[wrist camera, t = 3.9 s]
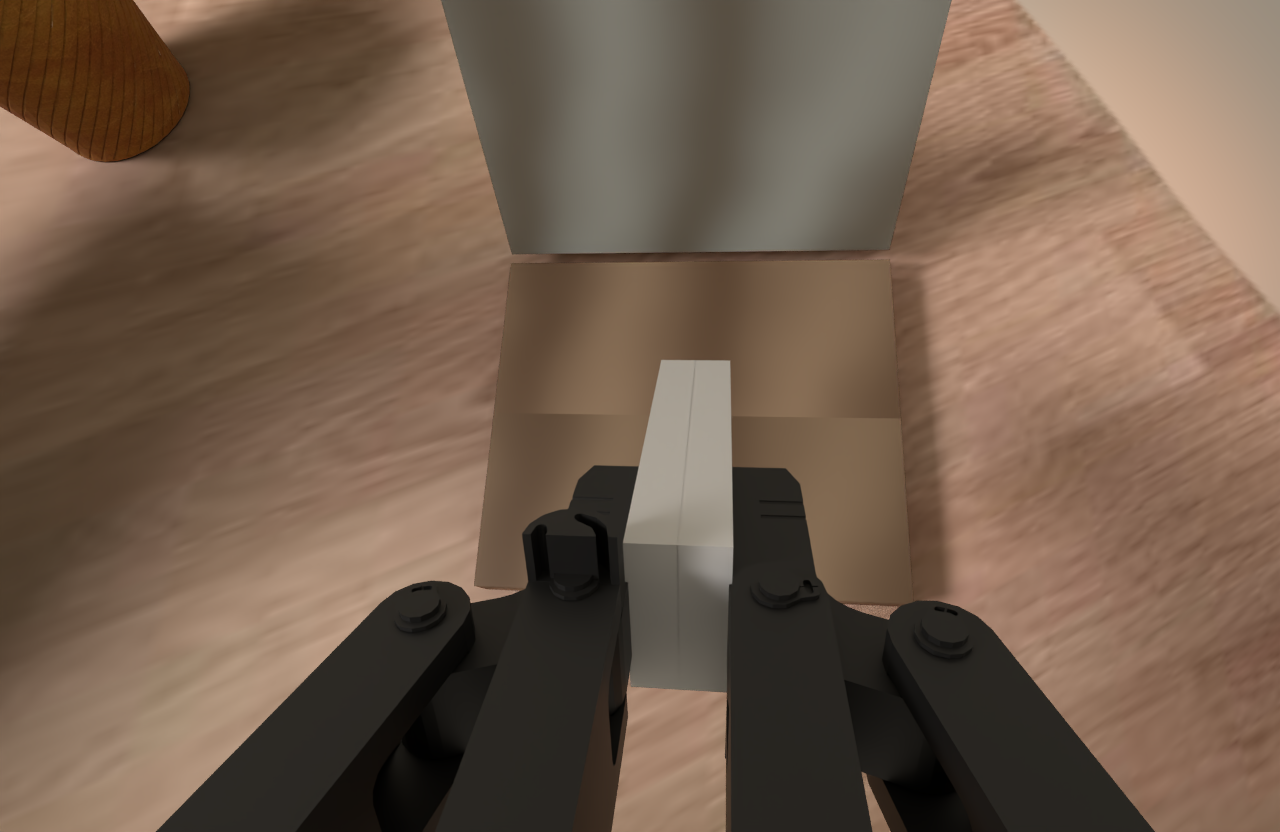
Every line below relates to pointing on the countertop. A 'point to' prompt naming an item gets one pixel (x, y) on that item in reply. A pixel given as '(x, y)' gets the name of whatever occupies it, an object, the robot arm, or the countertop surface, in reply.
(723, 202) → the grey flat slab
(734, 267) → the floorboard
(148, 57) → the disposable coffee cup
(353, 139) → the countertop surface
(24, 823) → the countertop surface
